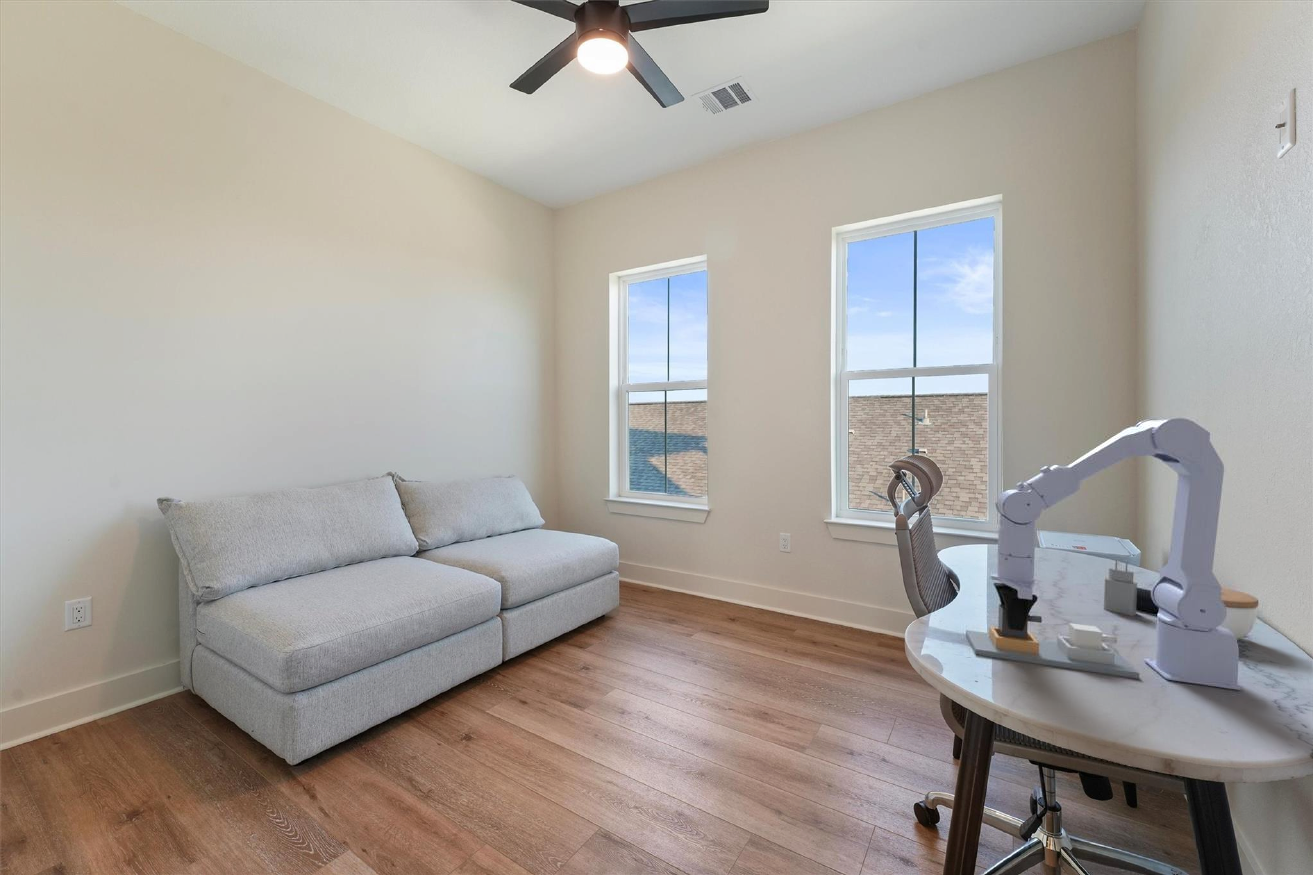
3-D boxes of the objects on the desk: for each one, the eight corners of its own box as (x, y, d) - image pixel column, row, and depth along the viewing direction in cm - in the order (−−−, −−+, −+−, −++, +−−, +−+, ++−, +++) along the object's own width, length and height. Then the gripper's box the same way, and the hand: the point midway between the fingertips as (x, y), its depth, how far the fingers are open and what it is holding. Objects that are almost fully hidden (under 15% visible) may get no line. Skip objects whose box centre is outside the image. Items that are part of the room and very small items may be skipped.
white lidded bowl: (1244, 653, 101) (1246, 595, 101) (1157, 630, 112) (1159, 578, 112) (1266, 641, 107) (1268, 586, 107) (1181, 620, 118) (1183, 571, 118)
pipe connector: (1150, 580, 131) (1237, 598, 118) (1149, 602, 131) (1236, 622, 118) (1128, 587, 126) (1216, 607, 113) (1127, 610, 126) (1216, 632, 113)
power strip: (1113, 655, 99) (1114, 623, 99) (1139, 678, 90) (1140, 643, 90) (965, 634, 108) (966, 605, 108) (975, 654, 99) (976, 622, 98)
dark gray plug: (1037, 635, 101) (1038, 608, 100) (1042, 641, 98) (1043, 614, 98) (998, 629, 103) (998, 604, 103) (1001, 635, 100) (1002, 609, 100)
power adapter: (1132, 616, 121) (1134, 563, 120) (1102, 609, 125) (1104, 558, 125) (1137, 613, 122) (1138, 561, 122) (1107, 606, 127) (1108, 556, 127)
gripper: (983, 544, 109) (981, 610, 109) (1000, 560, 95) (997, 636, 95) (1024, 547, 106) (1022, 615, 106) (1047, 565, 92) (1045, 642, 93)
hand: (1013, 625), depth 101 cm, fingers closed on dark gray plug, 3 cm apart
